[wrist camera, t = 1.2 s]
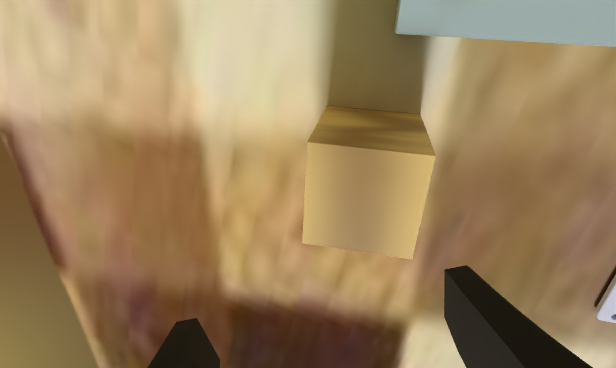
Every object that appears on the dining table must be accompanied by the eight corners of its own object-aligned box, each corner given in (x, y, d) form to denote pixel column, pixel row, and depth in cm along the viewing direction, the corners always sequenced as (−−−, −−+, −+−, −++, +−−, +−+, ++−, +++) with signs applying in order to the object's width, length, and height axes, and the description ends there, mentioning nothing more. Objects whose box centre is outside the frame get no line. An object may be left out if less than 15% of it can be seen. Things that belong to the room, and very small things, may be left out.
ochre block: (420, 114, 19) (435, 156, 13) (404, 196, 21) (412, 259, 16) (327, 105, 19) (307, 141, 14) (321, 185, 22) (302, 243, 16)
